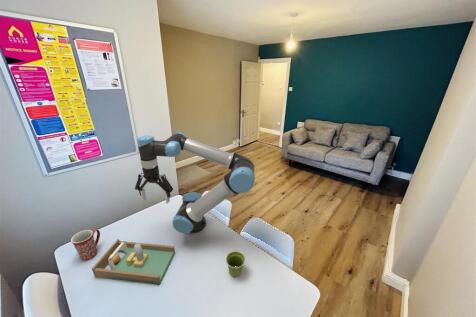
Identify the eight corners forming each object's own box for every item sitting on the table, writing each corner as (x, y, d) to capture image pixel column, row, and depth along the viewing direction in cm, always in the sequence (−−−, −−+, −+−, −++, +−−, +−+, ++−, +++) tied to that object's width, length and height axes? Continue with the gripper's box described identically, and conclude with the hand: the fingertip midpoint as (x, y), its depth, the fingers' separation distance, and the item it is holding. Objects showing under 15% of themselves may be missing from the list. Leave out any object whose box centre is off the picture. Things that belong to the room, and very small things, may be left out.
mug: (86, 264, 99) (78, 245, 94) (74, 259, 102) (66, 239, 97) (109, 246, 110) (103, 227, 105) (97, 241, 113) (91, 223, 108)
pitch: (175, 253, 107) (173, 240, 103) (159, 284, 90) (156, 271, 87) (119, 247, 110) (116, 235, 106) (95, 277, 93) (89, 263, 90)
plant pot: (247, 266, 100) (247, 254, 97) (241, 283, 92) (241, 270, 88) (230, 261, 103) (230, 249, 99) (223, 276, 94) (222, 264, 91)
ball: (115, 254, 104) (123, 253, 103) (111, 265, 101) (119, 264, 100) (108, 252, 100) (116, 251, 99) (104, 263, 97) (112, 262, 96)
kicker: (148, 257, 101) (144, 241, 97) (141, 267, 96) (137, 250, 92) (133, 255, 102) (129, 239, 98) (126, 265, 97) (121, 249, 92)
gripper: (176, 164, 100) (180, 198, 108) (131, 161, 102) (138, 195, 111) (170, 170, 93) (175, 207, 101) (122, 167, 96) (130, 203, 104)
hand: (156, 201), depth 106 cm, fingers open, 13 cm apart
